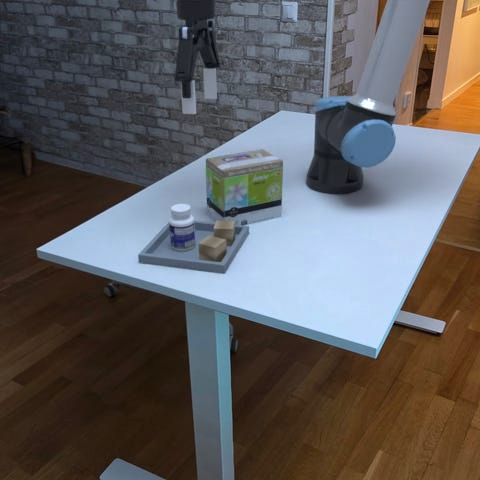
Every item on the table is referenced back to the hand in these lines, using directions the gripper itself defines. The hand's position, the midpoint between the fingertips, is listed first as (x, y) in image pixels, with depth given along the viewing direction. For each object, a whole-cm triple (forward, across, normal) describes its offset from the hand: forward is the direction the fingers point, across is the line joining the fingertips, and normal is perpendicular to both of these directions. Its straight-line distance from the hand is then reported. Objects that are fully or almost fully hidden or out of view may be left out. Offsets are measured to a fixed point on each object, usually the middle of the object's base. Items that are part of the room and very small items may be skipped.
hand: (200, 105), depth 120 cm
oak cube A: (+26, +11, +8) cm, 29 cm away
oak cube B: (+26, +19, +8) cm, 33 cm away
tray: (+27, +15, +3) cm, 31 cm away
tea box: (+27, -3, +8) cm, 28 cm away
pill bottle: (+26, +15, 0) cm, 30 cm away
